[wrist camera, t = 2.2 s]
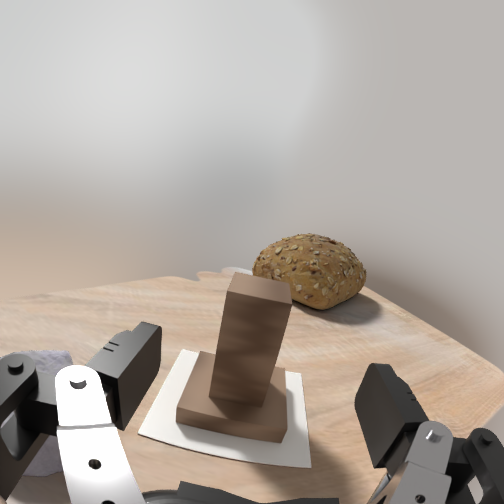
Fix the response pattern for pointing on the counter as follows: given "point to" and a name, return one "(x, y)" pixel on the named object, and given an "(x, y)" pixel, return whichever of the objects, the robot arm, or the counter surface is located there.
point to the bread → (312, 269)
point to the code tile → (169, 431)
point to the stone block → (49, 453)
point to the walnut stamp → (243, 366)
